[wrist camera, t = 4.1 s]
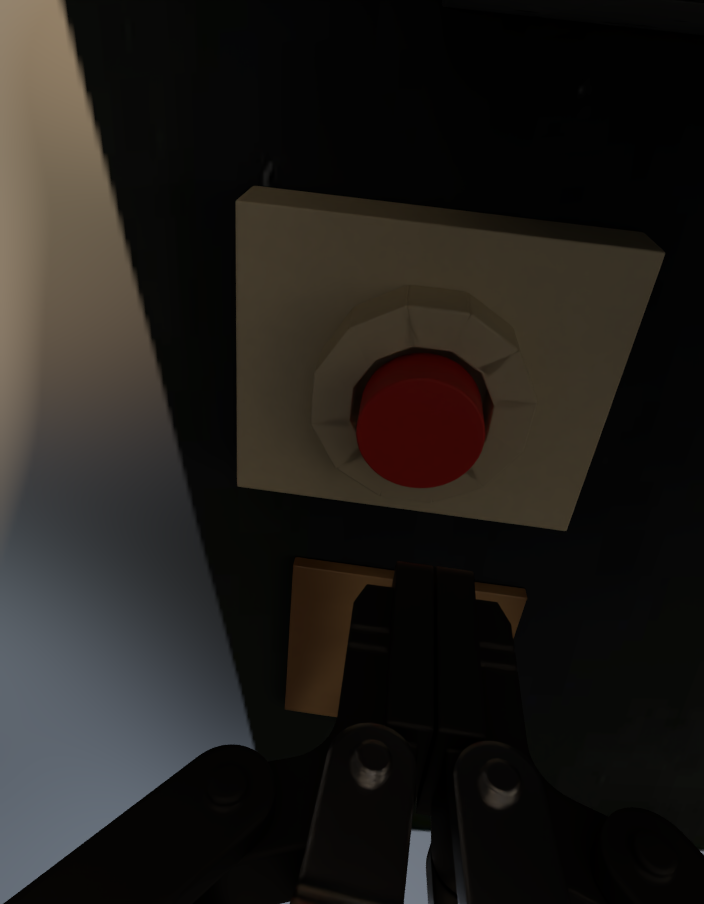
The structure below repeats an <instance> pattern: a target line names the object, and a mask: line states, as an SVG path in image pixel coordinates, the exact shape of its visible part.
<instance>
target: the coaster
mask: <svg viewBox="0 0 704 904" xmlns="http://www.w3.org/2000/svg"><path fill="white" fill-rule="evenodd" d="M393 576H394V570H387V569H380V568H372V567H365V566H358V565H351V564H344V563H336V562H329V561H322V560H315V559H308V558H301V557H295V560H294V564H293V575H292V592H291V609H290V626H289V644H288V661H287V678H286V695H285V709H286V710H292V711H299V712H306V713H312V714H319V715H326V716H333V717H337V715H338V708H339V701H340V694H341V687H342V680H343V673H344V666H345V659H346V652H347V645H348V637H349V630H350V623H351V616H352V609H353V602H354V601H355V599H356V598H357V597H358V595H359V594H360V593H361V591H362V590H363V589H364V587H365V586H366V585H367V584H371V585H378V586H385V587H392V582H393ZM475 593H476V599H479V600H486V601H493V602H498V604H499V605H500V607H501V609H502V610H503V612H504V613H505V615H506V617H507V618H508V620H509V622H510V623H511V626H512V634H513V638H514V635H515V632H516V629H517V626H518V623H519V620H520V617H521V614H522V611H523V608H524V605H525V602H526V599H527V596H526V590H525V589H523V588H516V587H509V586H502V585H494V584H487V583H480V582H475Z"/></svg>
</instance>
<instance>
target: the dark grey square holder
mask: <svg viewBox="0 0 704 904" xmlns="http://www.w3.org/2000/svg"><path fill="white" fill-rule="evenodd" d="M442 6H444V7H451V8H460V9H470V10H479V11H488V12H497V13H506V14H515V15H524V16H533V17H535V16H539V17H543V18H552V19H561V20H570V21H579V22H589V23H598V24H607V25H616V26H625V27H634V28H643V29H653V30H662V31H671V32H680V33H689V34H698V35H704V0H442Z"/></svg>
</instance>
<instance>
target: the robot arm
mask: <svg viewBox="0 0 704 904" xmlns="http://www.w3.org/2000/svg"><path fill="white" fill-rule="evenodd" d="M415 800H416V813H417V814H424V815H430V816H431V844H430V848H429V851H428V854H427V859H426V876H427V892H428V904H704V855H703V854H702V853H701V852H700V851H699V850H698V849H697V848H696V847H695V846H694V845H693V844H692V843H691V841H690V840H689V839H688V838H687V837H686V836H685V835H684V834H683V833H682V832H681V831H680V830H679V829H678V828H676V827H675V826H674V825H673V824H672V823H670V822H669V821H668V820H666V819H665V818H663V817H661V816H660V815H658V814H656V813H653V812H651V811H649V810H645V809H641V808H633V807H631V808H623V809H620V810H617V811H615V812H614V813H612V814H611V815H610V816H609V817H607V816H605V815H603V814H601V813H599V812H597V811H595V810H593V809H591V808H589V807H587V806H584V805H582V804H580V803H578V802H576V801H574V800H572V799H570V798H568V797H567V796H565V795H563V794H562V793H560V792H559V791H557V790H556V789H555V788H554V787H553V786H551V785H550V784H549V783H548V782H547V781H546V780H545V779H544V777H543V776H542V775H541V774H540V772H539V771H538V769H537V768H536V766H535V765H534V763H533V761H532V759H531V756H530V753H529V750H528V745H527V739H526V731H525V724H524V716H523V709H522V701H521V694H520V686H519V679H518V672H517V664H516V656H515V653H514V641H513V634H512V626H511V623H510V622H509V620H508V618H507V617H506V615H505V613H504V612H503V610H502V609H501V607H500V605H499V604H498V602H493V601H486V600H479V599H476V593H475V580H474V573H473V572H472V571H467V570H459V569H452V568H445V567H438V566H436V567H435V569H434V568H433V566H430V565H422V564H415V563H408V562H401V561H396V565H395V571H394V576H393V582H392V587H385V586H378V585H371V584H367V585H366V586H365V587H364V589H363V590H362V591H361V593H360V594H359V595H358V597H357V598H356V599H355V601H354V602H353V609H352V616H351V623H350V630H349V637H348V645H347V652H346V659H345V666H344V673H343V680H342V687H341V694H340V701H339V708H338V715H337V720H336V723H335V726H334V728H333V730H332V732H331V733H330V735H329V737H328V738H327V739H326V740H325V741H324V742H323V743H322V744H321V745H320V746H318V747H317V748H315V749H314V750H312V751H310V752H308V753H306V754H304V755H301V756H297V757H292V758H287V759H281V760H276V761H270V762H267V761H266V759H265V758H264V757H263V756H262V755H260V754H259V753H258V752H256V751H255V750H253V749H250V748H248V747H245V746H241V745H222V746H218V747H215V748H212V749H210V750H208V751H206V752H204V753H202V754H201V755H199V756H198V757H197V758H195V759H194V760H193V761H191V762H190V763H189V764H188V765H186V766H185V767H183V768H182V769H181V770H180V771H178V772H177V773H175V774H174V775H173V776H172V777H170V778H169V779H168V780H166V781H165V782H164V783H162V784H161V785H160V786H158V787H157V788H156V789H154V790H153V791H152V792H150V793H149V794H148V795H146V796H145V797H144V798H143V799H141V800H140V801H139V802H137V803H136V804H135V805H133V806H132V807H131V808H129V809H128V810H127V811H125V812H124V813H123V814H121V815H120V816H119V817H117V818H116V819H115V820H113V821H112V822H111V823H109V824H108V825H107V826H105V827H104V828H103V829H101V830H100V831H99V832H98V833H96V834H95V835H94V836H92V837H91V838H90V839H89V840H87V841H86V842H84V843H83V844H82V845H81V846H79V847H78V848H76V849H75V850H74V851H72V852H71V853H70V854H68V855H67V856H66V857H64V858H63V859H62V860H61V861H59V862H58V863H57V864H55V865H54V866H53V867H51V868H50V869H49V870H47V871H46V872H45V873H43V874H42V875H41V876H39V877H38V878H37V879H35V880H34V881H33V882H32V883H30V884H29V885H27V886H26V887H25V888H23V889H22V890H21V891H20V892H18V893H17V894H16V895H14V896H13V897H12V898H10V899H9V900H8V901H6V902H5V903H4V904H281V903H285V902H290V904H404V893H405V884H406V874H407V865H408V855H409V845H410V835H411V826H412V816H413V808H414V804H415Z"/></svg>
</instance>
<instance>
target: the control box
mask: <svg viewBox="0 0 704 904" xmlns="http://www.w3.org/2000/svg"><path fill="white" fill-rule="evenodd" d="M664 256H665V252H664V251H663V250H662V249H661V248H660V247H659V246H658V245H657V244H656V243H655V242H653V241H652V240H651V239H650V238H649V237H648V236H647V235H646V234H645V233H643V232H637V231H629V230H620V229H612V228H604V227H595V226H587V225H579V224H570V223H562V222H554V221H545V220H537V219H529V218H520V217H512V216H504V215H495V214H487V213H479V212H470V211H462V210H454V209H445V208H437V207H429V206H420V205H412V204H404V203H395V202H387V201H379V200H370V199H362V198H354V197H345V196H337V195H329V194H320V193H312V192H304V191H295V190H287V189H279V188H270V187H262V186H253V187H251V188H250V189H249V190H248V191H247V192H245V193H244V194H243V195H242V196H241V197H240V198H238V199H237V200H236V377H237V486H238V487H245V488H253V489H260V490H268V491H275V492H282V493H290V494H297V495H304V496H312V497H319V498H326V499H334V500H341V501H348V502H356V503H363V504H371V505H378V506H385V507H393V508H400V509H407V510H415V511H422V512H429V513H437V514H444V515H451V516H459V517H466V518H474V519H481V520H488V521H496V522H503V523H510V524H518V525H525V526H532V527H540V528H547V529H554V530H562V531H566V530H567V528H568V525H569V522H570V519H571V516H572V514H573V511H574V508H575V505H576V502H577V500H578V497H579V494H580V491H581V488H582V486H583V483H584V480H585V477H586V474H587V472H588V469H589V466H590V463H591V460H592V458H593V455H594V452H595V449H596V446H597V444H598V441H599V438H600V435H601V432H602V430H603V427H604V424H605V421H606V418H607V416H608V413H609V410H610V407H611V404H612V402H613V399H614V396H615V393H616V390H617V388H618V385H619V382H620V379H621V376H622V374H623V371H624V368H625V365H626V362H627V360H628V357H629V354H630V351H631V348H632V346H633V343H634V340H635V337H636V334H637V332H638V329H639V326H640V323H641V320H642V318H643V315H644V312H645V309H646V306H647V304H648V301H649V298H650V295H651V292H652V290H653V287H654V284H655V281H656V278H657V276H658V273H659V270H660V267H661V264H662V262H663V259H664ZM412 353H431V354H437V355H440V356H443V357H446V358H449V359H451V360H453V361H455V362H456V363H458V364H459V365H461V366H462V367H463V368H464V369H465V370H466V371H467V372H468V373H469V374H470V375H471V376H472V378H473V379H474V381H475V382H476V384H477V386H478V389H479V392H480V395H481V402H482V409H483V416H484V423H485V442H484V446H483V449H482V452H481V454H480V456H479V458H478V459H477V461H476V462H475V464H474V465H473V466H472V467H471V468H470V469H469V470H468V471H467V472H466V473H465V474H463V475H462V476H461V477H459V478H458V479H456V480H454V481H452V482H450V483H447V484H444V485H441V486H437V487H431V488H410V487H405V486H401V485H398V484H395V483H392V482H390V481H388V480H386V479H384V478H383V477H381V476H380V475H378V474H377V473H376V472H375V471H374V470H373V469H372V468H370V466H369V465H368V464H367V463H366V461H365V460H364V458H363V456H362V455H361V452H360V450H359V448H358V444H357V439H356V426H357V420H358V415H359V410H360V404H361V399H362V394H363V391H364V388H365V386H366V384H367V382H368V380H369V379H370V377H371V376H372V375H373V374H374V372H375V371H376V370H377V369H379V368H380V367H381V366H382V365H383V364H385V363H387V362H388V361H390V360H392V359H394V358H397V357H399V356H403V355H406V354H412Z"/></svg>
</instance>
